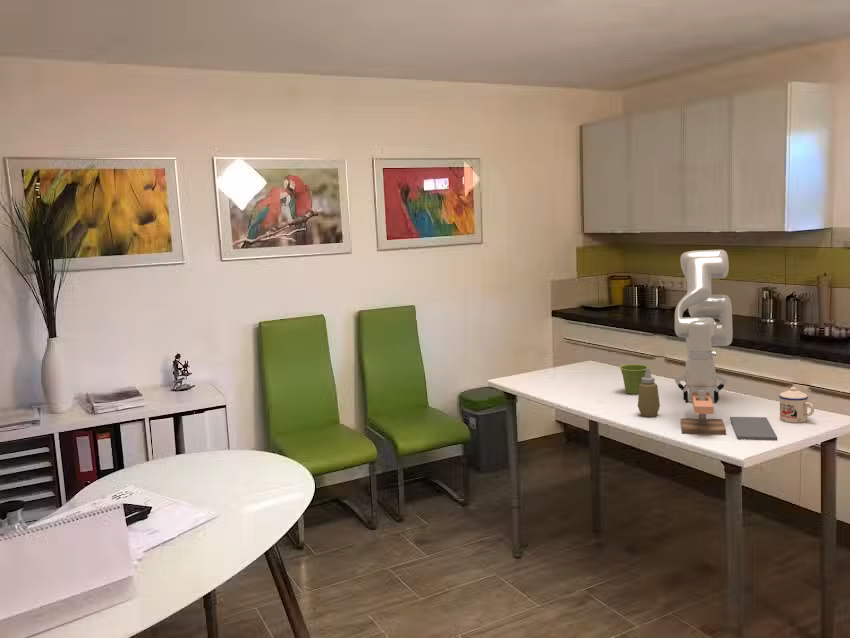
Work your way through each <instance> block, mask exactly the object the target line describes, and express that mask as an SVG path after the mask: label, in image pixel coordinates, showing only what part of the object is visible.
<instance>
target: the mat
mask: <svg viewBox="0 0 850 638" xmlns="http://www.w3.org/2000/svg"><path fill="white" fill-rule="evenodd" d="M729 421H730V423H731V426H732V429H733V432H734V434H735V436H736V439H737V440H742V439H743V440H744V439H745V441H746V440H747V441H748V440H749V441H751V440H752V441H778V436H777V434H776V432H775V430H774V429H773V427H772V425H771V423H770V422H769V420H768V417H765V416H729Z"/></svg>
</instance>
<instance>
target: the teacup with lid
mask: <svg viewBox="0 0 850 638" xmlns="http://www.w3.org/2000/svg"><path fill="white" fill-rule="evenodd" d="M778 397H779V420H781V422H782V421H783V422H786V423H791V424H794V423H795V424H797V423H800V424H801V423H806V422H807V421H808V417H811V416H812V415H813V414H814V412H815V407H814V404H813V403H811V402H808V399H809V397H808V394H806V393H804V392H802V391H800V390H798V389H797V387H796V386H795V387H794V386H792V387H790V388H789V390H786V391H783V392H781V393H780V394H779V395H778ZM808 406H809V408H810V412H809V413H808Z"/></svg>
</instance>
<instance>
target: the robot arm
mask: <svg viewBox="0 0 850 638" xmlns="http://www.w3.org/2000/svg"><path fill="white" fill-rule="evenodd" d="M679 261H680V267H681V271H682V273H683V276H684V278H685V280H686V284H687V285H686V287H687V288H686V291H687V293H685V295H684V296H683V297H682V298H681V299H680V300H679V302H678V303H677V305H676V307H675V310H674V332H675V335H676V336H677V337H679V338H682V339H685V342H686V346H687V347H686V348H687V358H686V361H685V372H684V374H683V375H681V376H678V377H677V378H675V379H674V382H675V383H676V385H677V387H678V388H679V389H680V390H681V391H682V393H683V395H682V396H683V397H682V398H683V401H685V403H686V404H688V403H692V396H691V392H698V390H705V391H706V392H709V393H710V397H711V400H712V403H713V404H717V402H718V401H719V400H720V399H719V398H720V397H719V392H720V391H722V389H724V387H725V385H726V383H727V381H728V380H727V378H725V377H722V376H720V375H719V374H716V365H715V363H716V362H715V359H714V357H715V356H717V353H716V351H712V347H720V346H721V347H726V346H729V345H731V344H732V342H733V312H732V311H733V307H732V301H731V299H730V297H729V296H728V295H726V294H712V293H713V292H712V279H713V280H714V279H725V278H726V277H727V276H728V274H729V268H730V266H729V263H730V262H729V255H728V253H727V251H726V250H724V249H704V250H702V249H701V250H691V251H685V252H683V253H682V254H681V255H680V260H679ZM687 309H688V314H689V316H690V317H689V316H688V317H686V316H685V317H683V315H684V312H685V311H686V310H687ZM715 319H717V320H719V321H716V320H715ZM683 380H684V382H685V385H684V384H682V383H681V381H683ZM717 380H718V381H720V384H719V385H718V386H717Z"/></svg>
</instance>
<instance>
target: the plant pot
mask: <svg viewBox="0 0 850 638" xmlns="http://www.w3.org/2000/svg"><path fill="white" fill-rule="evenodd" d="M647 368H649V366H647V365H644V364H634V363H633V364H631V363H630V364H623V365H620V366H619V370H621V375H622V378H623V384H624V385H623V386H624V389H625V393H626V392H627V393H626V394H628V393H630V394H629V395H633V394H635V395H639V385H640V384H641V383H642V378H643V377H645V372H646V369H647Z"/></svg>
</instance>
